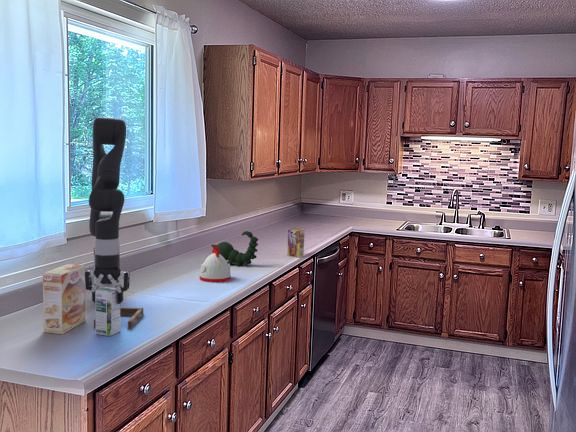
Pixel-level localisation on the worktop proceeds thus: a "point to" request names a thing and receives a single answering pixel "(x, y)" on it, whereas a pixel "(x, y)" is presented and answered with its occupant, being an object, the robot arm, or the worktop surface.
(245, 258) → the toy figurine
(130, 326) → the walnut U-rest
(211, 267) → the kitchen timer
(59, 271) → the coffeecake box
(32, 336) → the worktop surface
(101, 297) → the syrup box
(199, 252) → the worktop surface
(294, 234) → the candy box
